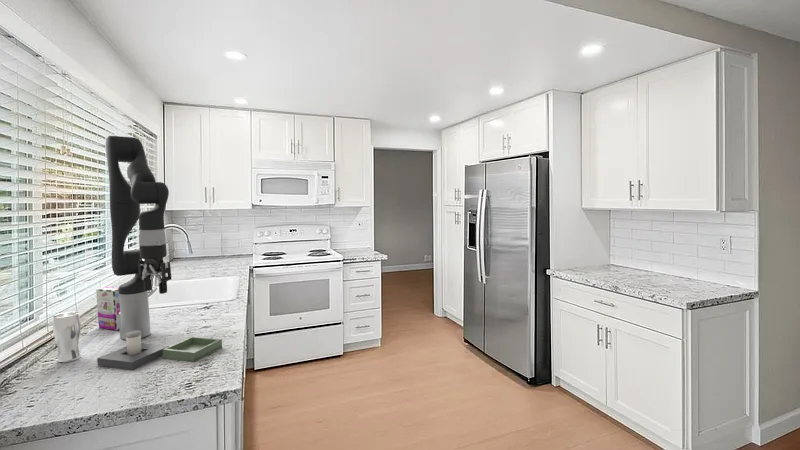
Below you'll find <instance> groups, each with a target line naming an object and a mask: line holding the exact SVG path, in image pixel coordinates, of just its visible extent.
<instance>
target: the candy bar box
mask: <svg viewBox="0 0 800 450" xmlns="http://www.w3.org/2000/svg"><path fill="white" fill-rule="evenodd" d="M95 291H96V303H97V317H98V318H97V321H98V328H99V329H102V330H104V329H105V330H111V331H120V329H119V315H118V314H119V313H120V301H119V287H110V286H106V287H100V288H96V289H95Z"/></svg>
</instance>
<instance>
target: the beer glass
mask: <svg viewBox="0 0 800 450" xmlns="http://www.w3.org/2000/svg"><path fill="white" fill-rule="evenodd" d="M81 328H82V327H81V319H80V313H79V311H67V312H62V313H57V314H55V315H53V316H52V331H53V332H52V333H53V338H54V340H55V344H56V346H57V347H56V348H57V353H58V354H57V358H56V359H57V363H60V362H63V363H68V362H74V361H77V360H79V359H81V357H82V355H81V352H80V346H79V345H80V336H81Z"/></svg>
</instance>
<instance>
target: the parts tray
mask: <svg viewBox="0 0 800 450" xmlns="http://www.w3.org/2000/svg"><path fill="white" fill-rule="evenodd" d="M222 341H223V340H222V338H213V337H211V338H210V337H201V336H200V337H199V336H190V337H187V338H186V339H185V338H184V339H183V340H181V341H179V342H176V343H174V344H172V345H168V346H169V347H167V348H165V349H163V356H162V358H163V359H167V360H172V361H184V362H189V363H190V362H192V363H195V362H198V361H199V360H201V359H203V358H205V357H207V356H209V355H211V354H212V353H214V352H217V351H218V350H220V349H222V348H223V342H222Z"/></svg>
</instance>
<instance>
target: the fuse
mask: <svg viewBox="0 0 800 450" xmlns="http://www.w3.org/2000/svg"><path fill="white" fill-rule="evenodd" d="M125 341H126V347H127V355H131V356H134V355H136V354H139V353H141V352H142V347H141V343H142V338H141V332H140V331H139V330H135V331H130V332H127V333H126V340H125Z"/></svg>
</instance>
